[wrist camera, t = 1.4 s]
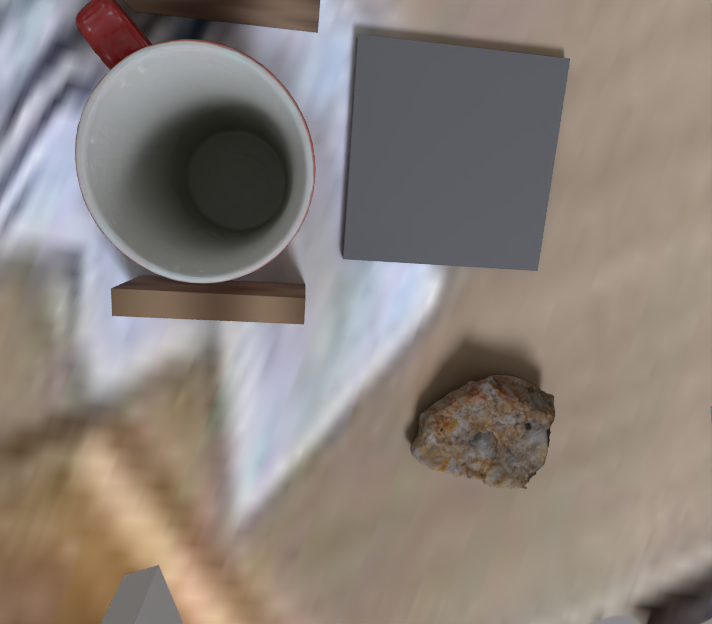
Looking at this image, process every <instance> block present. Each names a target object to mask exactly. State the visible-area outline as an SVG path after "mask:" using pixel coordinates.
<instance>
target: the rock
mask: <svg viewBox="0 0 712 624" xmlns="http://www.w3.org/2000/svg"><path fill="white" fill-rule="evenodd" d="M554 418H555V409H554V396H553V395H551V394H547V393H545V392H544V391H542V390H540V389H539V388H538V387H537V386H535V385H532V384H530V383H528V382H526V381H524V380H522V379H520V378H518V377H516V376H512V375H509V376H507V375H492V376H488V377H487V378H486V379H482V380H480V381H468V382H467V384H466V385H464V386H462V387H461V388H460V389H457V390H454V391H451V392H449V393H448V394H447V395H446V396H445V397H444V398H442V399H440V400H439V401H437V402H436V403H434V404H432V406H430V407H429V408H428V409H427V410H425V411H424V412H423V413H421V414H420V418H419V429H418V435H417V437H416V438H415V440H414V442H413V444H412V445H411V447H410V450H411V453H412V455H413V456H414V457H415V458H416V459H417V460H418V461H419V462H420V463H421V464H422V465H425V466H428V467H429V468H430V469H433V470H436V471H440V472H443V473H447V474H451V475H453V476H465V477H467V478H469V479H473V478H474V479H479V480H483V483H484V484H486V485H488V486H493V487H498V488H503V487H508V488H524V489H527V488H526V487H525V484H526V483H527V482H529V479H530V478H532V476H534V475H536V471H537V470H539V469H540V468H541V467H542V466H543V465H544V463H545V459H546V456H547V452H548V447H549V441H550V439H549V435H550V433H551V432H550V426H551V424H552V423H553V421H554Z"/></svg>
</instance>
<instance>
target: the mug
mask: <svg viewBox="0 0 712 624" xmlns="http://www.w3.org/2000/svg"><path fill="white" fill-rule="evenodd" d="M76 25H77V27H78V29H79V31H80V32H81V34H82V35H83V37H84V38H85V39H86V41H87V42H88V43H89V45H90V46H91V47H92V49H93V50H94V51H95V53H96V54H97V55H98V56H99V57H100V58H101V60H102V61H103V62H104V64H105V65H106V66H107V67H108V68H109V69H110V71H109V72H108V73H107V74H106V75H105V76H104V77H103V78H102V79H101V81H100V82H99V83H98V84H97V86H96V87H95V89H94V90H93V92H92V94H91V96H90V97H89V99H88V101H87V103H86V105H85V107H84V110H83V112H82V115H81V118H80V121H79V124H78V128H77V135H76V145H75V161H76V170H77V177H78V181H79V185H80V189H81V192H82V195H83V198H84V201H85V203H86V206H87V208H88V210H89V211H90V213H91V215H92V217H93V219H94V221H95V223H96V224H97V226H98V227H99V228H100V230H101V231H102V232H103V234H104V235H105V236H106V237H107V238H108V239H109V240H110V242H111V243H112V244H113V245H114V246H115V247H116V248H117V249H118V250H120V251H121V252H122V253H123V254H125V255H126V256H127V257H128V258H130V259H131V260H132V261H134V262H135V263H137V264H139V265H140V266H142V267H144V268H146V269H147V270H149V271H151V272H153V273H156V274H158V275H161V276H164V277H166V278H169V279H172V280H177V281H182V282H189V283H216V282H223V281H228V280H232V279H236V278H239V277H242V276H244V275H247V274H250V273H252V272H254V271H256V270H258V269H260V268H261V267H263V266H265V265H266V264H268V263H269V262H270V261H272V260H273V259H274V258H275V257H276V256H278V255H279V254H280V253H281V252H282V251H283V250H284V249H285V248H286V247H287V246H288V244H289V243H290V242H291V241H292V239H293V238H294V237H295V235H296V234H297V232H298V231H299V229H300V227H301V225H302V223H303V221H304V219H305V217H306V215H307V212H308V209H309V206H310V204H311V200H312V196H313V192H314V183H315V156H314V150H313V143H312V140H311V136H310V133H309V130H308V127H307V124H306V121H305V119H304V117H303V115H302V113H301V111H300V109H299V107H298V105H297V103H296V102H295V100H294V99H293V97H292V96H291V94H290V93H289V92H288V90H287V89H286V88H285V87H284V85H283V84H282V83H281V82H280V81H279V80H278V79H277V78H276V77H275V76H274V75H273V74H272V73H271V72H270V71H269V70H268V69H267V68H265V67H264V66H263V65H262V64H260V63H259V62H257V61H256V60H254V59H253V58H251V57H249V56H248V55H246V54H244V53H242V52H240V51H238V50H236V49H234V48H231V47H229V46H225V45H223V44H220V43H215V42H210V41H205V40H197V39H178V40H170V41H165V42H160V43H157V44H153V45H152V43H151V42H150V41H149V40H148V39H147V37H146V36H145V35H144V34H143V32H142V31H141V30H140V29H139V28H138V26H137V25H136V24H135V23H134V22H133V21H132V19H131V18H130V17H129V16H128V15H127V13H126V12H125V11H124V10H123V9H122V7H121V6H120V5H119V4H118V3H117V2H116V1H115V0H91V1H90V2H89V3H88V4H87V5H86V6H85V7H84V8H83V9H82V10H81V11H80V12H79V13H78V15H77V17H76Z"/></svg>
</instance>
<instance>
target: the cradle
mask: <svg viewBox="0 0 712 624" xmlns="http://www.w3.org/2000/svg"><path fill="white" fill-rule="evenodd" d="M124 1H125V2H126V3H127V4H128V5H129V6H130V7H131V9H132V10H133V11H135V12H144V13H153V14H161V15H170V16H178V17H187V18H196V19H204V20H213V21H222V22H230V23H239V24H247V25H256V26H265V27H273V28H282V29H291V30H299V31H308V32H316V33H318V22H319V8H320V0H124ZM111 298H112V316H127V317H150V318H173V319H196V320H219V321H242V322H264V323H287V324H304V315H305V285H304V284H285V283H267V282H248V281H229V280H228V281H223V282H216V283H189V282H182V281H177V280H172V279H169V278H166V277H155V276H139V277H137V278H134V279H132V280H130V281H127V282H125V283H123V284H120V285H118V286H116V287H113V288H111Z"/></svg>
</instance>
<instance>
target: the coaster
mask: <svg viewBox="0 0 712 624" xmlns="http://www.w3.org/2000/svg"><path fill="white" fill-rule="evenodd" d="M569 62H570V59H569V58H560V57H552V56H543V55H534V54H526V53H517V52H509V51H500V50H492V49H483V48H474V47H466V46H457V45H449V44H440V43H432V42H423V41H415V40H406V39H397V38H389V37H380V36H372V35H363V34H358V36H357V48H356V64H355V79H354V94H353V109H352V125H351V140H350V155H349V170H348V186H347V201H346V216H345V231H344V247H343V259H351V260H367V261H384V262H400V263H417V264H433V265H450V266H466V267H483V268H500V269H516V270H533V271H538V264H539V258H540V251H541V245H542V238H543V232H544V225H545V219H546V212H547V206H548V199H549V193H550V186H551V179H552V173H553V166H554V160H555V153H556V147H557V140H558V134H559V127H560V121H561V114H562V108H563V101H564V95H565V88H566V82H567V75H568V69H569Z"/></svg>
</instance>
